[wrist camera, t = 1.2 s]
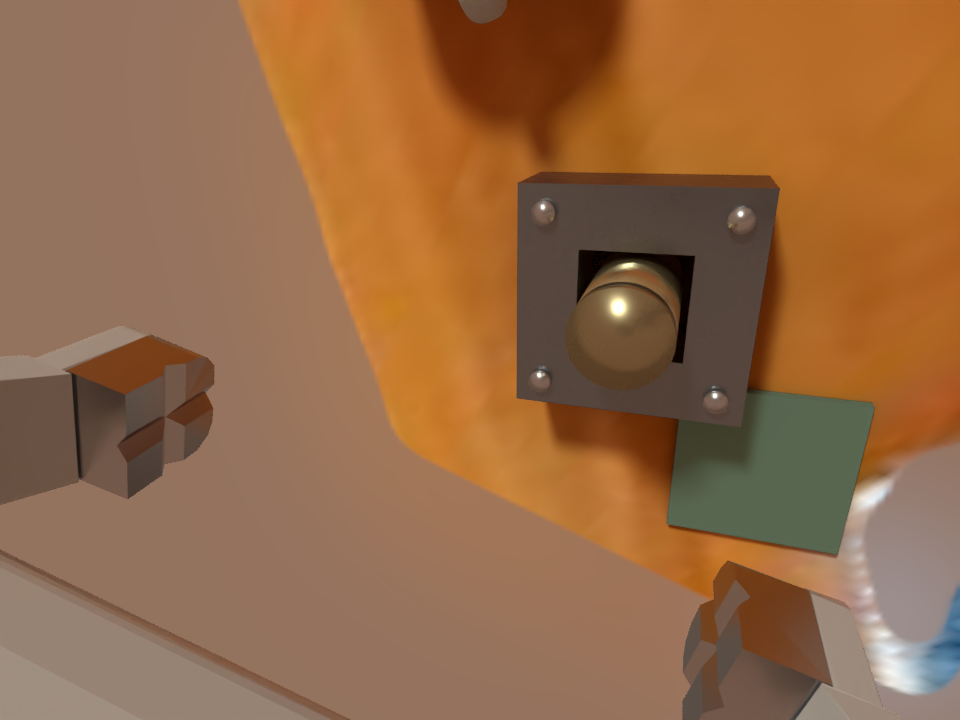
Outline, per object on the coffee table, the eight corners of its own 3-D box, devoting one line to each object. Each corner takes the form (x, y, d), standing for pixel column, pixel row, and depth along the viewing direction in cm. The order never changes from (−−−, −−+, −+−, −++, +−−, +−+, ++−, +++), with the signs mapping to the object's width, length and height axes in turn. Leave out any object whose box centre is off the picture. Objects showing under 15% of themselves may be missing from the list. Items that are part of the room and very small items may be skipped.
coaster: (872, 402, 34) (874, 407, 34) (835, 548, 38) (837, 554, 38) (683, 381, 37) (682, 385, 37) (666, 518, 41) (666, 523, 41)
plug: (688, 242, 34) (682, 291, 26) (679, 324, 36) (670, 396, 28) (600, 237, 36) (566, 283, 27) (596, 317, 38) (563, 383, 29)
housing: (769, 175, 32) (780, 190, 27) (736, 387, 37) (741, 431, 32) (540, 172, 36) (515, 183, 31) (537, 365, 40) (514, 401, 35)
